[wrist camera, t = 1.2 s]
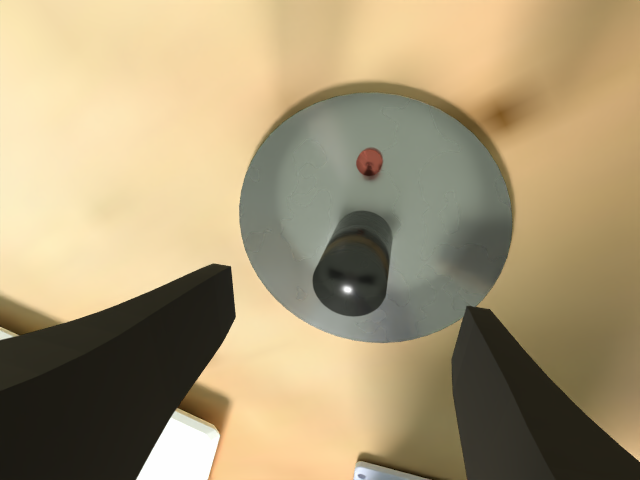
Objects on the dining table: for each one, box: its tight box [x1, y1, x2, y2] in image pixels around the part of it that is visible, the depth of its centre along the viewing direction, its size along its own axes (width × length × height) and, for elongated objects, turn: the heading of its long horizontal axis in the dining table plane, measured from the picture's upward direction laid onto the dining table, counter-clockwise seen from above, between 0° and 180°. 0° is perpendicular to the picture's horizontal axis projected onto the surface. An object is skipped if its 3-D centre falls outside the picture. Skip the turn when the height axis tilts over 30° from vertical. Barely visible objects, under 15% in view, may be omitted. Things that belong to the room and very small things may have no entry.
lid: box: [239, 92, 512, 343], centre depth 14 cm, size 12×12×5 cm
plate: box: [0, 327, 220, 480], centre depth 31 cm, size 26×26×2 cm
